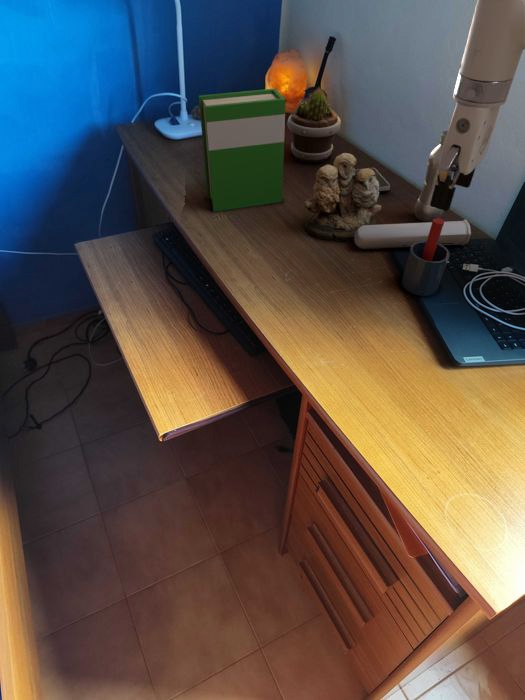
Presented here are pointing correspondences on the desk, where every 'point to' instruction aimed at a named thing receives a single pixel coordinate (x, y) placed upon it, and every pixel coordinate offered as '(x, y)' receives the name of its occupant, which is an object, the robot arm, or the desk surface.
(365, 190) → the owl figurine
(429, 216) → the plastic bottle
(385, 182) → the external hard drive
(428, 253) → the red cylindrical rod
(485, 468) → the desk surface
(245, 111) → the hardback book
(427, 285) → the tumbler
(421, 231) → the tube
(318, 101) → the flowerpot
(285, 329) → the desk surface
